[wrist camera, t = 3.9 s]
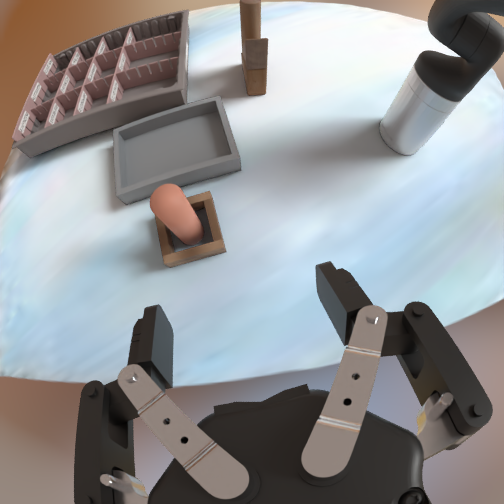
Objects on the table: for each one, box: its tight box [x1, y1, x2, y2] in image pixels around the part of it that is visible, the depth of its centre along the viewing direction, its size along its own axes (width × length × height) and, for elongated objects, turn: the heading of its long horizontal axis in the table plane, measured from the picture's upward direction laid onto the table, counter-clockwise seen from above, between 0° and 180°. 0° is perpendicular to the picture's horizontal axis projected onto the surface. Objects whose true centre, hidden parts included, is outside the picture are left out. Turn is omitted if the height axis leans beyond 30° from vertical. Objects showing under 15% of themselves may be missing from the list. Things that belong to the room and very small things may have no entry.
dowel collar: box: [155, 191, 226, 268], centre depth 41 cm, size 9×9×3 cm
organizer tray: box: [12, 10, 189, 158], centre depth 46 cm, size 32×40×10 cm
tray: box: [113, 95, 241, 205], centre depth 43 cm, size 20×14×4 cm
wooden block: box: [240, 0, 268, 96], centre depth 40 cm, size 4×11×18 cm, turn 7°
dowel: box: [150, 184, 204, 245], centre depth 36 cm, size 4×4×13 cm
